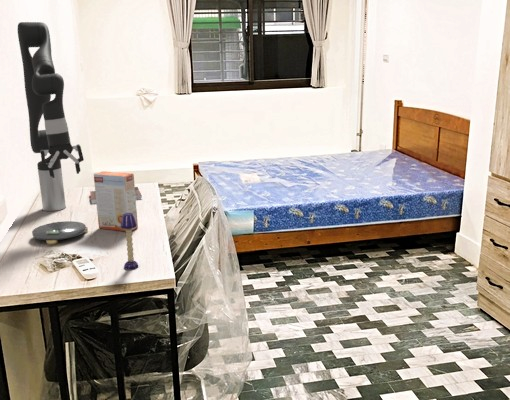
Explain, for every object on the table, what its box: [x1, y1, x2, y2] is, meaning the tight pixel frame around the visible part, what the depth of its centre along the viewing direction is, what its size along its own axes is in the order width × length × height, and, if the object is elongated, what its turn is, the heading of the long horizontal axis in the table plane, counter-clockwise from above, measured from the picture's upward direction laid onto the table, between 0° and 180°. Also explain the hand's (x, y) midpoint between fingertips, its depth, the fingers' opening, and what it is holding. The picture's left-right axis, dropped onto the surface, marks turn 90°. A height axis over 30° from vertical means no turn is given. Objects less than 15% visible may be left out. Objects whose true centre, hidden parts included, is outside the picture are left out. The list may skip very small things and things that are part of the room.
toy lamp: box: [121, 213, 139, 270], centre depth 163 cm, size 5×5×17 cm
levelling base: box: [31, 220, 89, 246], centre depth 194 cm, size 19×18×4 cm
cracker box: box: [93, 170, 139, 232], centre depth 200 cm, size 14×6×21 cm, turn 65°
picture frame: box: [89, 186, 143, 205], centre depth 248 cm, size 16×2×22 cm
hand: (65, 175), depth 199 cm, fingers open, 8 cm apart
